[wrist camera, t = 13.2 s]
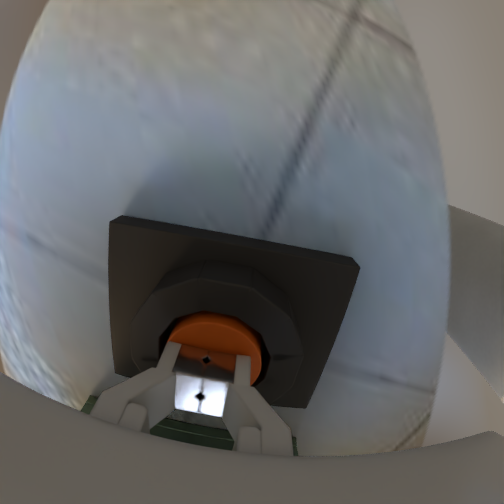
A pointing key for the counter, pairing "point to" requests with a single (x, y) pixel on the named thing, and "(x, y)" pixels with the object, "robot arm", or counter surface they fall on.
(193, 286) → the switch base
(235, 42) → the counter surface
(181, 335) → the switch button
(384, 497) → the robot arm
